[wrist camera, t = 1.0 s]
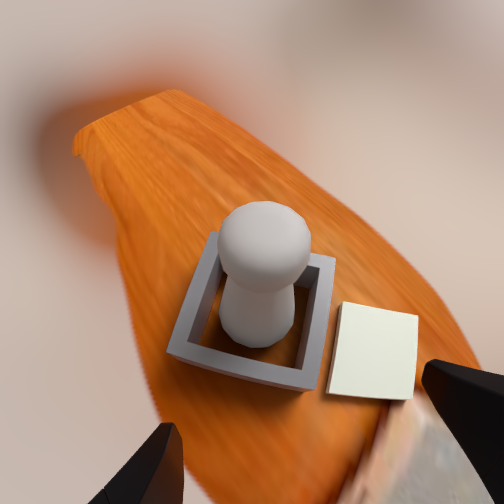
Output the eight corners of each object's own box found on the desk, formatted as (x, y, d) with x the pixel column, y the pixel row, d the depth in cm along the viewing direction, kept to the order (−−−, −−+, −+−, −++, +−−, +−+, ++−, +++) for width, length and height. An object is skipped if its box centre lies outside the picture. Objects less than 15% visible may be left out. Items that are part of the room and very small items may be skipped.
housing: (303, 392, 19) (315, 389, 16) (179, 360, 20) (165, 351, 17) (323, 279, 25) (335, 258, 21) (215, 255, 26) (211, 230, 22)
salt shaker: (210, 336, 22) (170, 258, 11) (238, 280, 24) (231, 168, 13) (276, 363, 21) (311, 313, 9) (299, 303, 23) (343, 204, 12)
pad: (406, 400, 18) (412, 399, 17) (325, 393, 19) (328, 392, 18) (412, 319, 22) (418, 315, 21) (339, 305, 23) (343, 301, 22)
